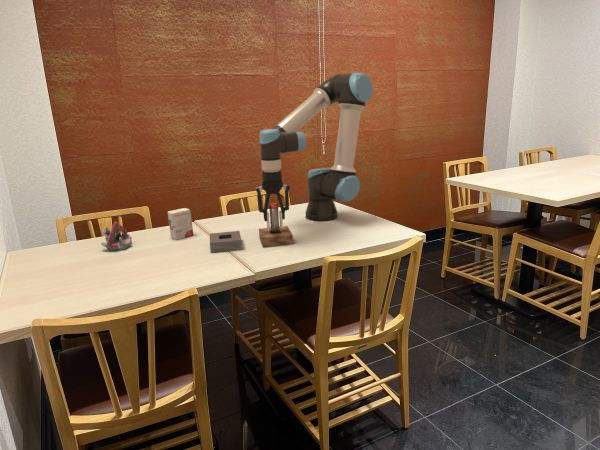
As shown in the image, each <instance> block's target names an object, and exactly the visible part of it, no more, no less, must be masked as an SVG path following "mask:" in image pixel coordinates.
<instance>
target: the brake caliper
mask: <svg viewBox="0 0 600 450" xmlns="http://www.w3.org/2000/svg"><path fill="white" fill-rule="evenodd" d="M101 231H102V234H104V238H105V242H101V245H102V246H103V247H105V248H107V249H108V250H109V251H110V250H113V252H114V250H115V251H125V250H126V249H128V248H131V246H132V245H133V241H132V237H131V236H130V234H129V233H128V230H127V229H126V227H124V226H123V225H121V223H119V222H118V221H114V223H113V225H112V227H111V230H109V228H108V227H103V229H102V230H101ZM121 232H122V233H121ZM131 244H132V245H131Z"/></svg>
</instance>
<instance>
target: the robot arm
mask: <svg viewBox="0 0 600 450" xmlns="http://www.w3.org/2000/svg"><path fill="white" fill-rule="evenodd" d="M373 94H374V86H373V82H372V80H371V77H369V76H368V75H367V74H366V73H364V72H352V73H351V72H349V73H339V74H334V75H332V76H331V77H328V78H327V79H326V80H324V81H323V82H322V83H320V84H319V85H318V86H317V87H316V88H315V89H314V90H313V93H312V94H311V95H310V96H309V97H308V98H306V100H304V101H303V102H302V103H301V104H300V105H298V106H297V107H296V108H295V109H294V110H293V111H292V112H290V113H289V114H288V115H287V116H285V117H284V118H283V119H282V120H281V121H279V123H277V124H276V125H275V126H274V127H272V128H270V129H268V128H267V129H262V130H260V132H259V138H258V139H259V147H260V148H259V149H260V150H259V151H260V163H261V170H262V171H261V177H262V178H261V180H262V183H261V185H260V186H256V187H255V188H254V189H255V191H256V194H257V204H258V205H257V206H258V211H259V213H260V214H261V213H262V214H263V220H264V222H266V228H268V230H269V229H270V228H271V223H270V212H269V211H268V209H269V204H270V203H269V202H270V198H271V195H275V196H276V198H277V201H278V206H279V207H280V210H278V215H279V227H281V228H283V226H284V224H283V220H286V215H285V214H286V213H285V212H286V211H289V210H290V194H289V192H290V185H289V184H284V182H283V177H282V176H283V175H282V171H281V169H282V158H281V155H282V154H288V153H295V152H296V153H297V152H300V151H303V150H304V149H306V146H307V138H306V135H305V133H304V132H303V131H299V130H300V129H301V128H302V127H304V125H306V124H307V123H308V122H310V121H311V119H313V118H315V116H316V115H317V114H318V113H320V111H322V110H323V109H324V108H329V107H330V106H331V105H333V104H336V103H337V106H338V107H339V108H340V114H339V120H338V121H339V123H338V130H337V136H336V137H337V139H336V146H335V155H334V161H333V165H332V166H331V167H319V168H313V169H310V170H309V171H308V172H307V173H308V174H307V190H308V193H307V194H308V203H307V206H306V209H305V219H307V220H310V221H313V222H314V221H315V222H324V221H325V222H326V221H332V220H334V219H337V218H338V209H337V206H336V205H335V201H334V200H336V201H338V202H344V203H345V202H350V201H352V200H354V198H356V197H357V195H358V194H359V192H360V189H361V182H360V180H359V178H358V177H357V170H356V169H355V168H354V164H355V157H356V152H357V151H356V150H357V143H358V135H359V128H360V122H361V121H360V120H361V112H362V111H363V110H364V109H366V103H367V102H369V101H370V100H371V98H372V96H373ZM282 189H283V191H284V203H283V200H282V197H281V193H280V191H282ZM263 190H264V192H265V199H264V205H263V202H262V201H263V199H262V193H261V192H263Z"/></svg>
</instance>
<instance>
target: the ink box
mask: <svg viewBox="0 0 600 450" xmlns="http://www.w3.org/2000/svg"><path fill="white" fill-rule="evenodd" d="M167 218H168V224H169V225H168V227H169V233H170V238H171V239H173V240H175V241H177V240H181V239H184V238H188V237H192V236H194V228H193V219H192V212H191V209H189V208H186V207H184V208H183V207H182V208H178V209H174V210H169V211H167Z"/></svg>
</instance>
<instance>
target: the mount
mask: <svg viewBox="0 0 600 450" xmlns="http://www.w3.org/2000/svg"><path fill="white" fill-rule="evenodd" d="M279 232H280V233H275V234H271V227H270V229H269V230H268V228H267V227H263V228H258V233H259V236H258V238H259V241H260V243H261V247H262V248H272V247H281V246H290V244H292V245H294V239H293V233H292V232H291V230H290V228H289V226H288V225H283V228H281V227H280V226H279Z"/></svg>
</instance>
